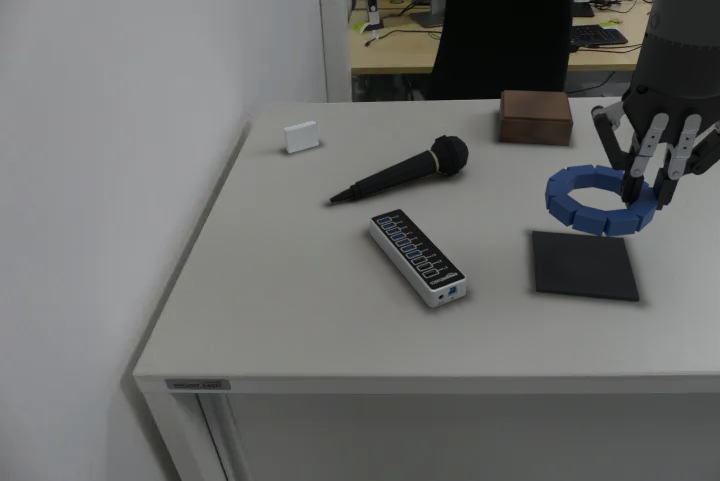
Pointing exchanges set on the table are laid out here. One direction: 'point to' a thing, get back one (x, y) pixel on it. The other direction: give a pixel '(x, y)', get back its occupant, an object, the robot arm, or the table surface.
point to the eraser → (301, 136)
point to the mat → (583, 266)
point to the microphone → (412, 169)
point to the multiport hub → (418, 258)
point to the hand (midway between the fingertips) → (641, 204)
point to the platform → (535, 117)
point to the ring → (594, 218)
